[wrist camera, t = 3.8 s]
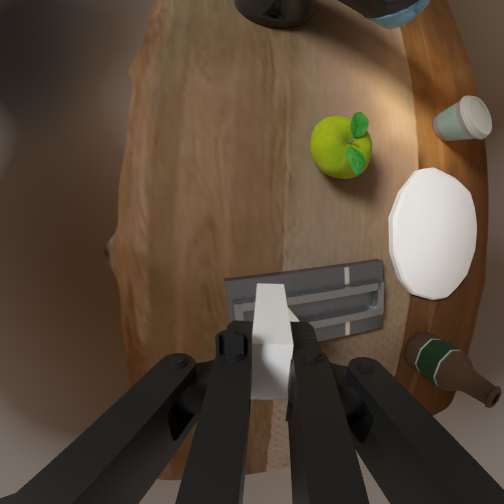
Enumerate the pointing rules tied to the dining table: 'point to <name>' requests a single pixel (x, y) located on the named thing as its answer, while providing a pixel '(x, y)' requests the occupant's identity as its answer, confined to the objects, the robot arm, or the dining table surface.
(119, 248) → the dining table surface
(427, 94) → the dining table surface
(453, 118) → the coffee cup
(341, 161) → the fruit
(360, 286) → the fader console
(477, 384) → the beer bottle
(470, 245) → the decorative plate
